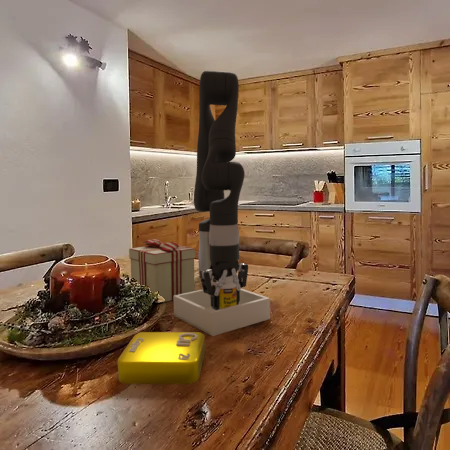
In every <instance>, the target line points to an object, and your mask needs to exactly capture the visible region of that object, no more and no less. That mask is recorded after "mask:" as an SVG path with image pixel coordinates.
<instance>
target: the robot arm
mask: <svg viewBox="0 0 450 450" xmlns="http://www.w3.org/2000/svg"><path fill="white" fill-rule="evenodd" d="M239 87H240V86H239V78H238V76H237V74H236V72H235V73H234V72H231V71H221V70H204V71H203V72H202V73H201V75H200V77H199V88H198V93H199V94H198V97H199V98H198V101H199V102H198V103H199V104H198V105H199V106H198V107H199V112H198V113H199V115H198V116H199V118H198V120H199V122H198V123H199V124H198V135H197V143H196V144H197V148H196V173H195V174H196V176H195V182H194V183H195V184H194V190H193V206H194V208H195V210H196V211H197V212H202V213H204V212H205V213H207V212H209V218H207V219H205V220H202V221H200V222H199V223H198V252H197V254H198V259H197V260H198V276H199V277H200V281H201V285H202V289H203V292H204V293H207V294H209V295H210V296H211V307H212V308H213V309H215V310H219V296H218V294H219V291H220V288H221V287H222V285H223V282H224V279H225V277H226V276H231V275H232V276H233V282H235V283H236V304H237V305H238V304H239V301H240V289H243V288H245V287H246V286H247V282H248V281H247V280H248V273H249V272H248V271H249V265H248V264H247V263H243V262H240V263H239V260H240V229H239V224H238V223H239V213H238V212H239V211H238V210H239V209H238V208H239V200H240V195H241V191H242V188H243V184H244V180H245V168H244V167H243V165H242V164H241V163H240V162H238V161H233V160H234V159H235V158H236V153H237V147H236V144H237V143H236V123H237V115H238V105H239ZM212 105H213V106H225V108H224V109H223V111H222V112H221V113H220V114H219V115H218V116H217V117H216V119H215V118H214V115H213V112H212V110H211V106H212ZM225 191H229V195H227V196H226V197H225ZM217 282H218V283H217ZM215 286H216V287H215Z"/></svg>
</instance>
